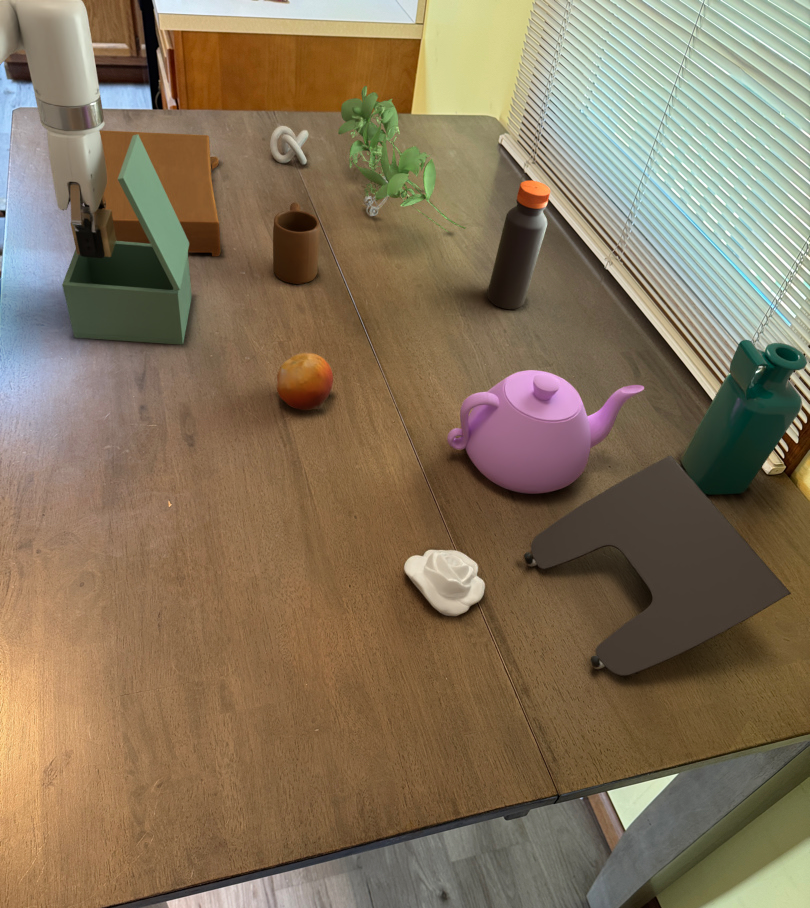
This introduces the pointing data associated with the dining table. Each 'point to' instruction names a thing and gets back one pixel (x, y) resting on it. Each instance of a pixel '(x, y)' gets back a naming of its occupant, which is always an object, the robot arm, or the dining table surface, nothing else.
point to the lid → (154, 211)
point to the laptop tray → (665, 564)
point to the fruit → (305, 381)
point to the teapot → (533, 431)
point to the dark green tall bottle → (745, 419)
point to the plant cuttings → (385, 153)
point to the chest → (126, 297)
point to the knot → (288, 144)
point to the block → (102, 230)
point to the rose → (446, 580)
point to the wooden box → (167, 185)
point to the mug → (295, 245)
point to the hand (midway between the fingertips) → (96, 244)
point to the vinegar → (519, 246)
